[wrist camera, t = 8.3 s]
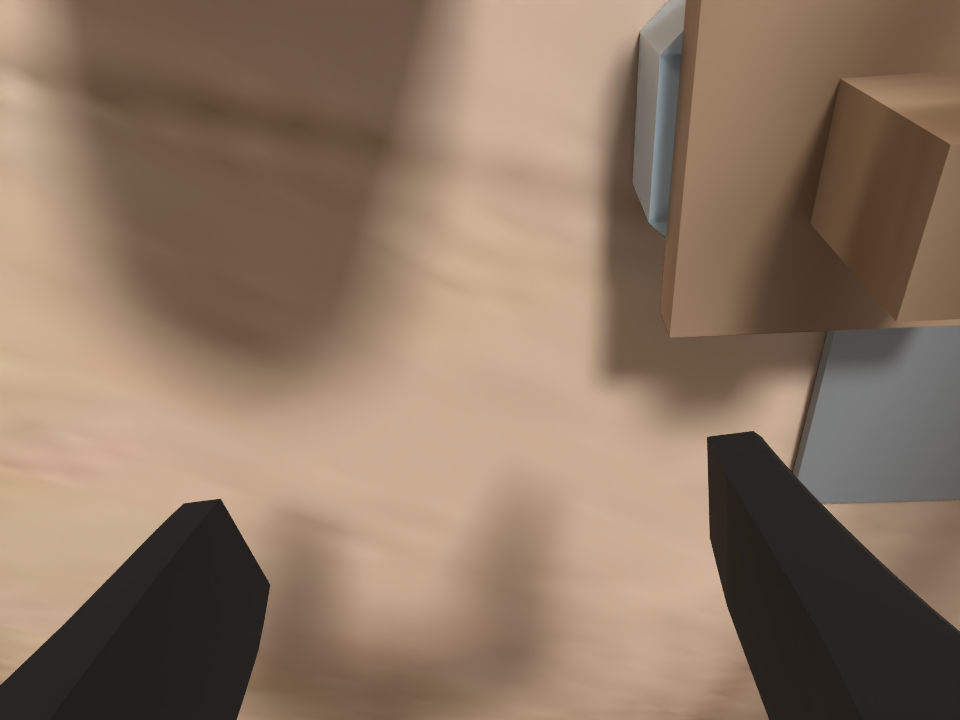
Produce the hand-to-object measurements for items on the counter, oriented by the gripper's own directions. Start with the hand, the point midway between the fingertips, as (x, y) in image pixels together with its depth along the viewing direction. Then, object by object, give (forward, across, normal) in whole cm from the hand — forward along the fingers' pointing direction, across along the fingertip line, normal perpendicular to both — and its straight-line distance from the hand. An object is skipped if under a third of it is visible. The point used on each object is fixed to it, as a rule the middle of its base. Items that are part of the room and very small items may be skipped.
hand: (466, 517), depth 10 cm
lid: (+7, -8, -2) cm, 11 cm away
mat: (+10, -13, +8) cm, 18 cm away
